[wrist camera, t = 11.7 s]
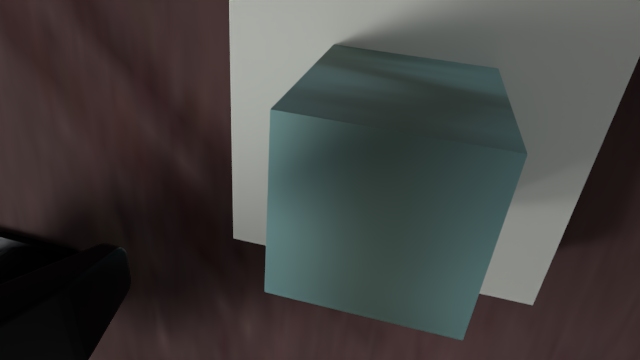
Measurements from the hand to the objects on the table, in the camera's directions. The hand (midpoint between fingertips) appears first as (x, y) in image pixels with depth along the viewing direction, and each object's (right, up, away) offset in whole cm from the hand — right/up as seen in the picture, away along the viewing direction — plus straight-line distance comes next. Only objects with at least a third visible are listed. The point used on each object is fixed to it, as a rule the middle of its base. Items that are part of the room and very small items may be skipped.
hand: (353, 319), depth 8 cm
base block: (+3, +5, +10) cm, 11 cm away
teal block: (+2, +4, +7) cm, 8 cm away
